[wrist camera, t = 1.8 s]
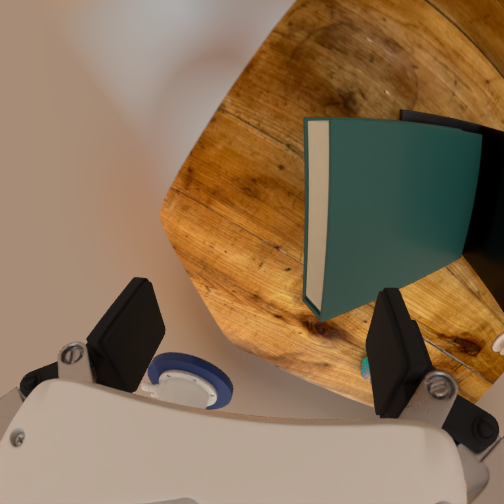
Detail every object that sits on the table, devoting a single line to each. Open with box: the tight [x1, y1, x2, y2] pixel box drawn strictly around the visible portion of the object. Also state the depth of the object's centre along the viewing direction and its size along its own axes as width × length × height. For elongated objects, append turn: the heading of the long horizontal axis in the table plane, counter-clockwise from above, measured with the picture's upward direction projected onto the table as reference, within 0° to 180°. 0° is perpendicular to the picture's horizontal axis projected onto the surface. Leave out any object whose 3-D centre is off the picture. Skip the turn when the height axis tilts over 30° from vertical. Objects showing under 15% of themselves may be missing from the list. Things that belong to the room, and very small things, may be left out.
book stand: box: [400, 109, 504, 312], centre depth 21 cm, size 11×16×13 cm
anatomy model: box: [361, 357, 372, 384], centre depth 39 cm, size 5×8×7 cm
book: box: [302, 117, 482, 322], centre depth 21 cm, size 20×14×3 cm
